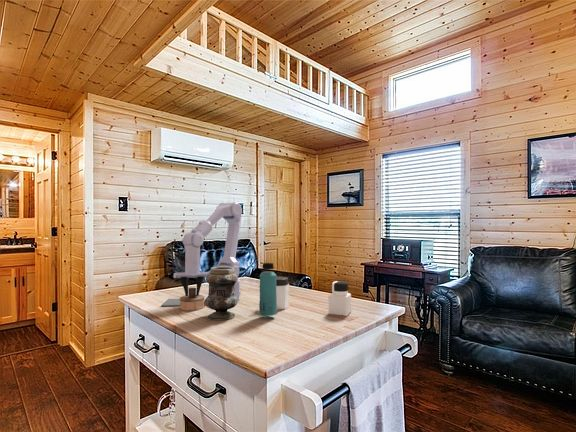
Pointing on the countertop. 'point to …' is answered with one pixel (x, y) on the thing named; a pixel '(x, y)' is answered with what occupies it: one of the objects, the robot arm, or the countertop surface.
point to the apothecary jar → (221, 292)
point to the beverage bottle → (268, 291)
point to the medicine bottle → (340, 299)
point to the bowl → (191, 305)
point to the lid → (192, 296)
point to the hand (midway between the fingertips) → (192, 295)
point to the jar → (282, 292)
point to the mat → (171, 303)
